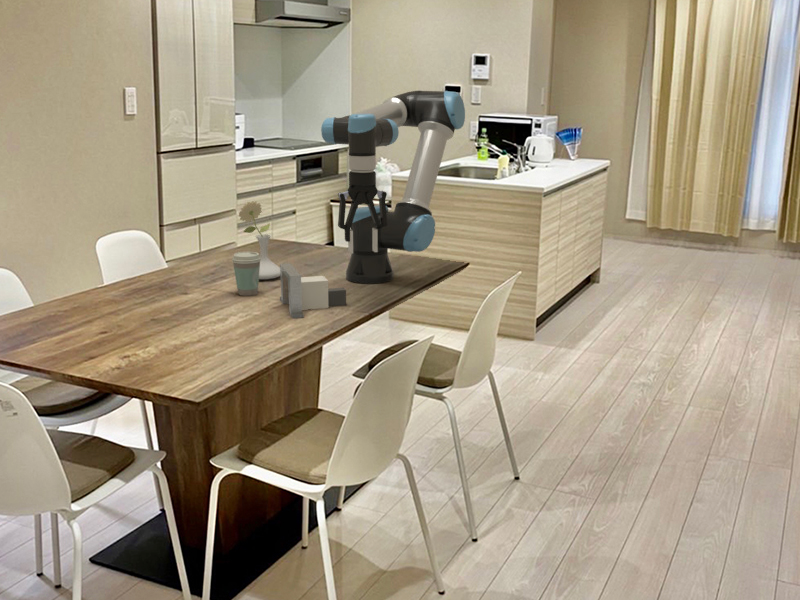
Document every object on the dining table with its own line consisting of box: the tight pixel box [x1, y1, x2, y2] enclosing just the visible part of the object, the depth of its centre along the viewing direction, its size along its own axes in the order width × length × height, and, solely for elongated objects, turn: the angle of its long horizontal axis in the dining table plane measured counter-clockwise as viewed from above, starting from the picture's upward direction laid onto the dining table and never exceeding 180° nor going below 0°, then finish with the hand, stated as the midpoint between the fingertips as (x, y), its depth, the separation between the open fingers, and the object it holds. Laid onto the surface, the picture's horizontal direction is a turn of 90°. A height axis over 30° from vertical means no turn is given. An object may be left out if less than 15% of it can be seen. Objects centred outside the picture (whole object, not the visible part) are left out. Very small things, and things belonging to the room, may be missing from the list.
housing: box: [279, 262, 305, 319], centre depth 249 cm, size 3×21×11 cm, turn 17°
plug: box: [301, 275, 347, 311], centre depth 251 cm, size 16×6×8 cm, turn 107°
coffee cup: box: [231, 251, 261, 297], centre depth 264 cm, size 8×9×12 cm
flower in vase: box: [238, 200, 280, 280], centre depth 281 cm, size 13×11×25 cm
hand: (362, 251), depth 252 cm, fingers open, 6 cm apart
